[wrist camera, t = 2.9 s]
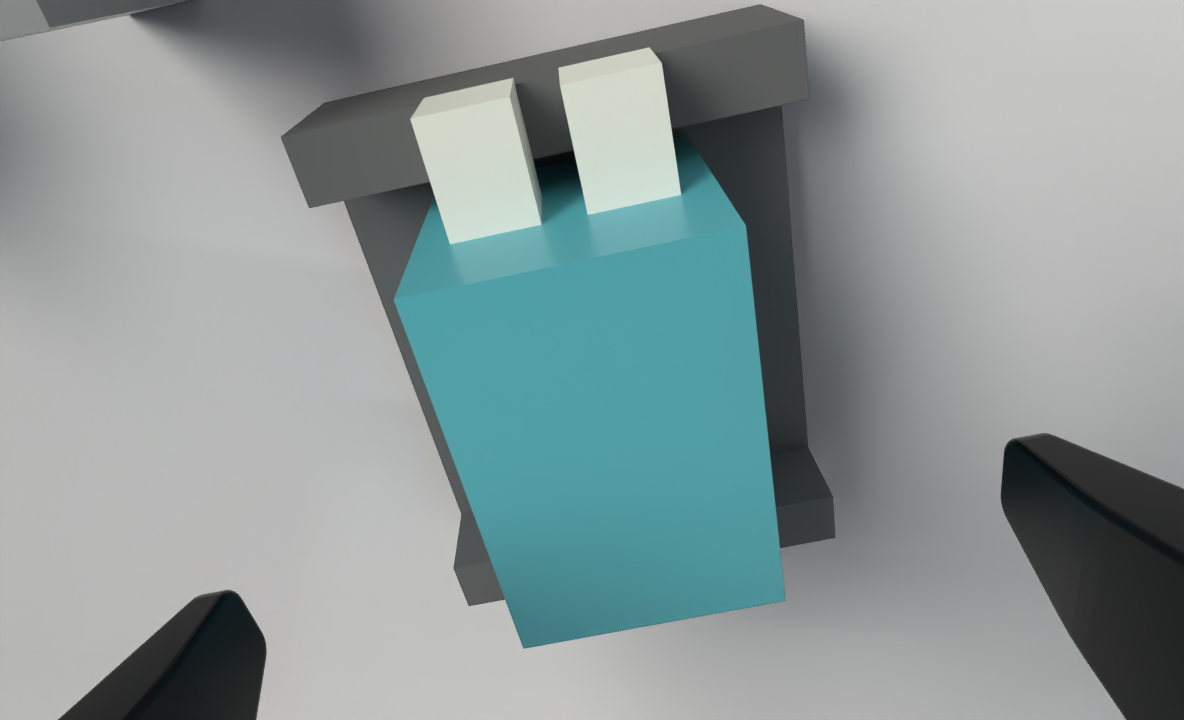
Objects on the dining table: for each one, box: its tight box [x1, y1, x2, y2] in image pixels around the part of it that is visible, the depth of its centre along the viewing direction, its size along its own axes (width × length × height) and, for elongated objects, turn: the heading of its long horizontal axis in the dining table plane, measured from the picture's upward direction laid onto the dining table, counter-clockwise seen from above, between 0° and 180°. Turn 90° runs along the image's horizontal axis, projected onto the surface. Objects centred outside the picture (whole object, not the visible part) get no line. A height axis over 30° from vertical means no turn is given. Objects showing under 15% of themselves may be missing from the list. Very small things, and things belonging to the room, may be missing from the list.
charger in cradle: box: [281, 4, 835, 606], centre depth 13 cm, size 9×7×2 cm
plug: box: [394, 47, 785, 648], centre depth 11 cm, size 8×4×4 cm, turn 11°
